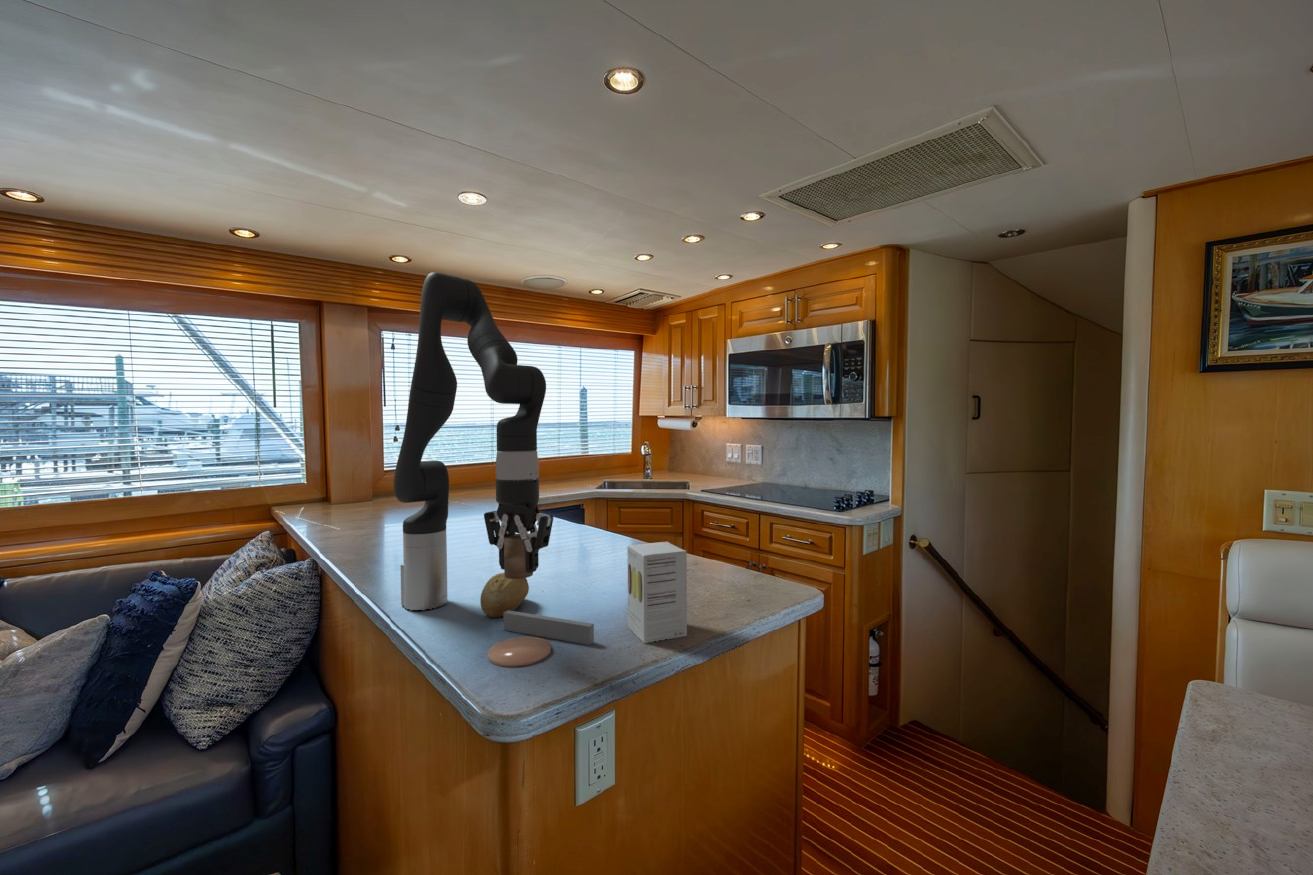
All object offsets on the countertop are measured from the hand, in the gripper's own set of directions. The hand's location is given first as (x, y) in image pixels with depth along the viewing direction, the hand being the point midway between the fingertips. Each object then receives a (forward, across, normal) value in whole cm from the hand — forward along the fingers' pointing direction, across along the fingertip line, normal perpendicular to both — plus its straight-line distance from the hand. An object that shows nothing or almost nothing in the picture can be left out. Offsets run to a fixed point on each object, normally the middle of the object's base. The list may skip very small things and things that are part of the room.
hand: (518, 569), depth 96 cm
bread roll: (+15, -18, +18) cm, 30 cm away
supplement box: (+15, +19, +18) cm, 31 cm away
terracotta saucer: (+15, 0, 0) cm, 15 cm away
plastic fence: (+15, 0, +8) cm, 17 cm away
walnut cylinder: (+1, 0, 0) cm, 1 cm away
